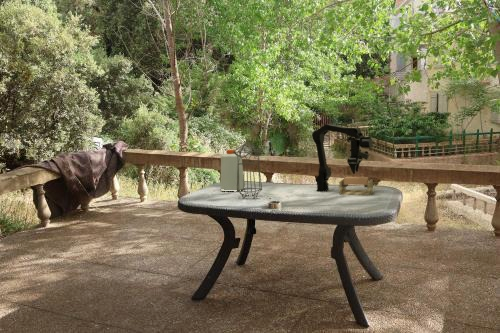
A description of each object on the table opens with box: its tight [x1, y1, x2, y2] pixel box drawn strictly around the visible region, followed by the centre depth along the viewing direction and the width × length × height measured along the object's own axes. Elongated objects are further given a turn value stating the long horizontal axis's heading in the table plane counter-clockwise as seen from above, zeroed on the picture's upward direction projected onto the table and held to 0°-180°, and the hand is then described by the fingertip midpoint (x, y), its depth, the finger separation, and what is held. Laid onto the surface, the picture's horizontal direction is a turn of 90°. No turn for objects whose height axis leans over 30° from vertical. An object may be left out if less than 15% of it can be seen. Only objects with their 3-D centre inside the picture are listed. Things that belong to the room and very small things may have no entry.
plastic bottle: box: [220, 149, 246, 190], centre depth 317 cm, size 15×15×28 cm
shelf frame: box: [338, 178, 374, 196], centre depth 288 cm, size 18×12×8 cm, turn 66°
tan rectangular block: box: [343, 176, 369, 186], centre depth 287 cm, size 14×6×4 cm, turn 66°
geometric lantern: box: [233, 141, 263, 198], centre depth 289 cm, size 16×16×35 cm
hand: (355, 172), depth 287 cm, fingers open, 9 cm apart
